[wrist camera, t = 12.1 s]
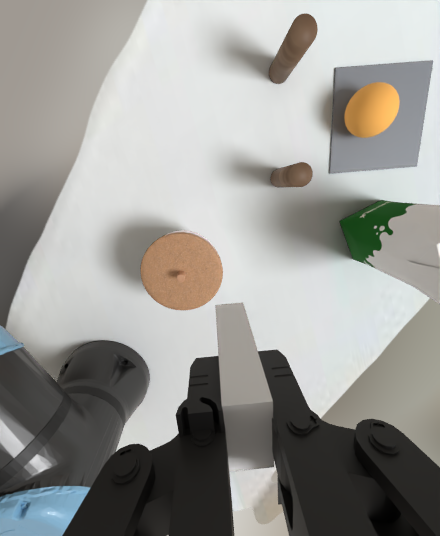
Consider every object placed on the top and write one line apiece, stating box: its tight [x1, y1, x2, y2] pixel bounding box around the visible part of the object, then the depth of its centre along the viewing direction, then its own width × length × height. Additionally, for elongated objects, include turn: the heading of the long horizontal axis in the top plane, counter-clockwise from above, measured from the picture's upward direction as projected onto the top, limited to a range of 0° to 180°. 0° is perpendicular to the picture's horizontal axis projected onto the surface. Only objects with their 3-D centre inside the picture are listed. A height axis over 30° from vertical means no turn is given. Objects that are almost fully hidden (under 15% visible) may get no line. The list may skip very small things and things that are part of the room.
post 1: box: [269, 14, 317, 84], centre depth 28 cm, size 3×3×9 cm
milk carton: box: [340, 200, 440, 304], centre depth 30 cm, size 9×9×20 cm
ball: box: [344, 82, 399, 138], centre depth 32 cm, size 6×6×6 cm
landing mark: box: [330, 61, 433, 173], centre depth 35 cm, size 13×13×1 cm
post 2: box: [271, 162, 312, 187], centre depth 32 cm, size 3×3×9 cm
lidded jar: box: [141, 230, 223, 310], centre depth 35 cm, size 11×11×9 cm
